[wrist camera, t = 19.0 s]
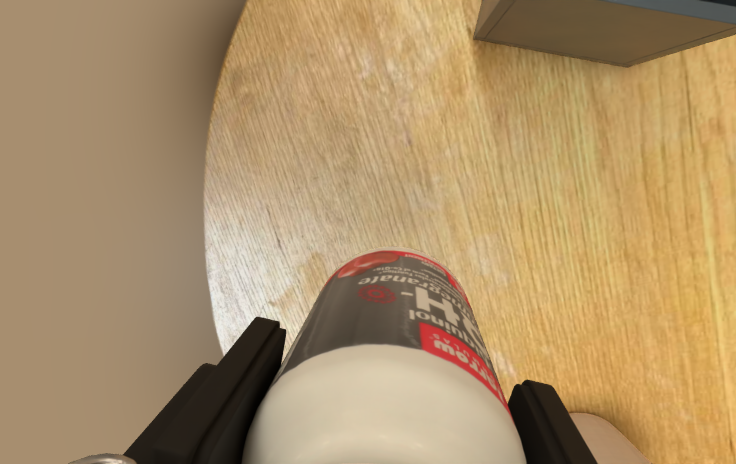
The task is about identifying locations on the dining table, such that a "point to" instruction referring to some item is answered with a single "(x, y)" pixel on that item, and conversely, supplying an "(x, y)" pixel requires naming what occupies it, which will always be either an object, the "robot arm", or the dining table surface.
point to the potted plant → (606, 441)
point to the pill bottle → (386, 374)
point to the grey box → (606, 27)
